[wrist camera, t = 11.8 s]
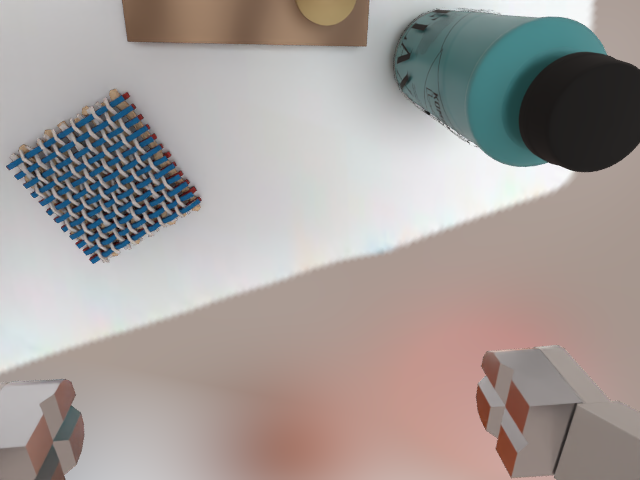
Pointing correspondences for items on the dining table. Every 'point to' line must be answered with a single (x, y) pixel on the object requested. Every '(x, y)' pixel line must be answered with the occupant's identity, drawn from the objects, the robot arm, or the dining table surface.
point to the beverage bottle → (522, 87)
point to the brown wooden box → (239, 23)
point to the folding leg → (325, 10)
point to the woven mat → (105, 179)
